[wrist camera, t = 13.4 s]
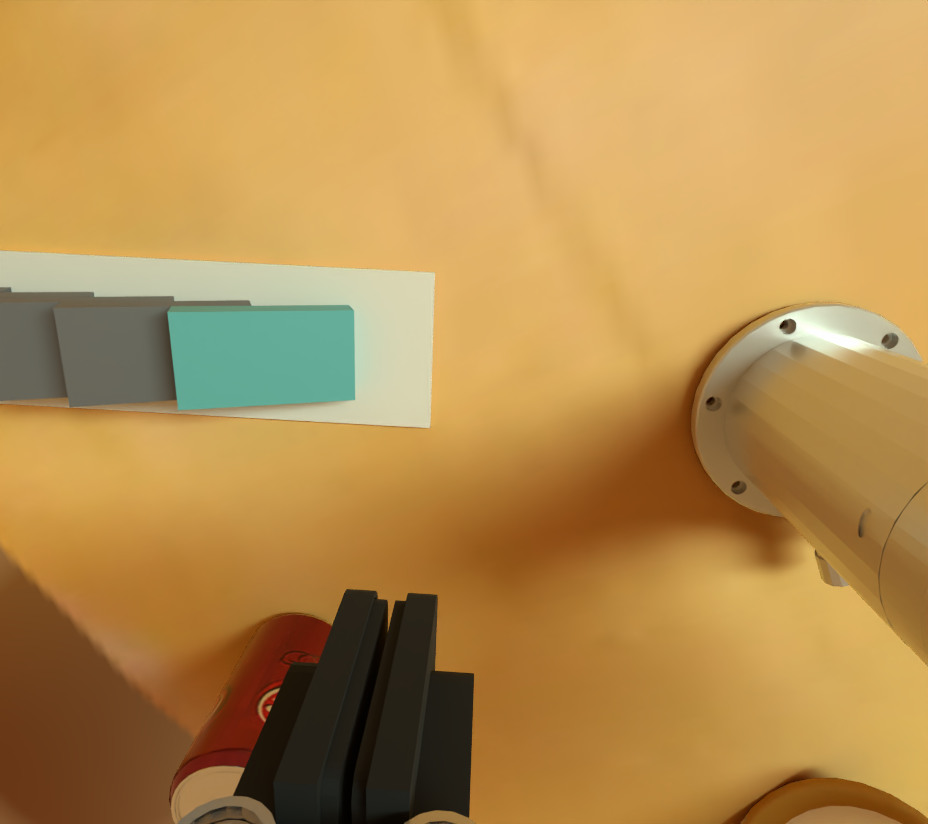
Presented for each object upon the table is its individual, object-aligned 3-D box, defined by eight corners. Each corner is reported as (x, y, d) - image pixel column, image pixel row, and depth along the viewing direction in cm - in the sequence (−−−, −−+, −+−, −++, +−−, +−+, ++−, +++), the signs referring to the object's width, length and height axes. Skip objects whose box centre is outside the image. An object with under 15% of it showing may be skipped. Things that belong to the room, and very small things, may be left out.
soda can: (336, 598, 41) (276, 749, 29) (369, 684, 43) (326, 857, 31) (235, 620, 42) (139, 775, 30) (273, 703, 44) (197, 878, 32)
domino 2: (251, 305, 33) (53, 308, 29) (257, 394, 34) (69, 407, 31) (248, 300, 34) (60, 302, 31) (254, 386, 36) (75, 397, 32)
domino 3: (354, 310, 32) (167, 312, 30) (355, 400, 34) (178, 410, 31) (348, 304, 34) (171, 306, 31) (350, 390, 36) (181, 399, 33)
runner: (434, 272, 34) (434, 272, 33) (430, 426, 36) (429, 428, 36) (-99, 245, 34) (-104, 245, 34) (-63, 398, 37) (-67, 400, 37)
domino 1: (172, 301, 33) (-34, 303, 30) (181, 390, 34) (-13, 401, 31) (173, 296, 34) (-22, 297, 31) (182, 381, 36) (-2, 391, 33)
